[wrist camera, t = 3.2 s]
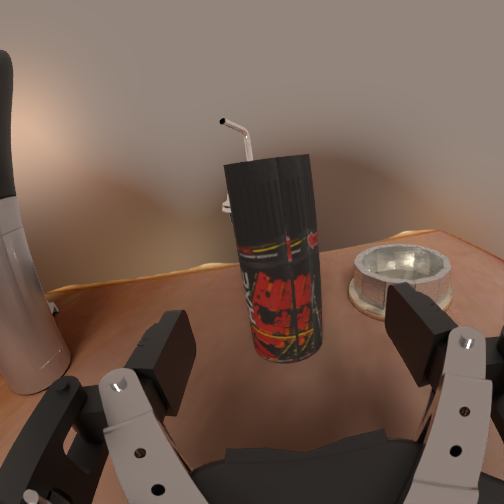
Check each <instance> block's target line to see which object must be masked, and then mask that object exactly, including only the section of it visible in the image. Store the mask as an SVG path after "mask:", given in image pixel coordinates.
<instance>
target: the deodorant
mask: <svg viewBox="0 0 504 504" xmlns="http://www.w3.org/2000/svg"><path fill="white" fill-rule="evenodd" d="M224 170H225V177H226V183H227V189H228V196H229V202H230V208H231V214H232V220H233V226H234V232H235V238H236V244H237V250H238V256H239V262H240V268H241V273H242V279H243V285H244V291H245V296H246V302H247V308H248V313H249V319H250V324H251V330H252V335H253V341H254V346H255V349H256V351H257V353H258V354H259V355H260V356H261V357H262V358H264V359H266V360H268V361H272V362H276V363H292V362H298V361H301V360H304V359H307V358H308V357H310V356H312V355H313V354H315V353H316V352H317V351H318V350H319V348H320V346H321V344H322V302H321V279H320V261H319V247H318V234H317V222H316V211H315V200H314V191H313V182H312V173H311V165H310V158H309V154H306V155H295V156H286V157H276V158H268V159H261V160H253V161H247V162H240V163H234V164H228V165H224Z"/></svg>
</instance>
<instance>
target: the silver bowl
mask: <svg viewBox="0 0 504 504" xmlns="http://www.w3.org/2000/svg"><path fill="white" fill-rule="evenodd" d="M450 274H451V266H450V262H449V259H448V258H447V257H446V256H444V255H443V254H441V253H439V252H438V251H436V250H434V249H430V248H426V247H422V246H418V245H409V244H389V245H381V246H374V247H372V248H369V249H367V250H365V251H362V252H360V253H359V254H358V255H357V257H356V259H355V261H354V278H353V279H352V280H351V282H350V284H349V299H350V301H351V303H352V304H353V306H354V307H355V308H356V309H357V310H359V311H360V312H362V313H363V314H365V315H367V316H369V317H371V318H374V319H377V320H380V321H384V322H385V310H386V299H387V289H388V286H389V285H391V284H397V283H402V282H408V283H409V284H410V285H411V286H412V287H413V288H414V289H415V290H416V291H417V292H421V293H423V294H425V295H427V296H429V297H430V298H431V299H432V300H433V301H434V302H435V303H436V305H438V306H439V307H440V308H441V310H443V311H444V312H445V311H446V310H447V309H448V307H449V305H450V302H451V297H452V289H451V286H450V284H449V281H450Z"/></svg>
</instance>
